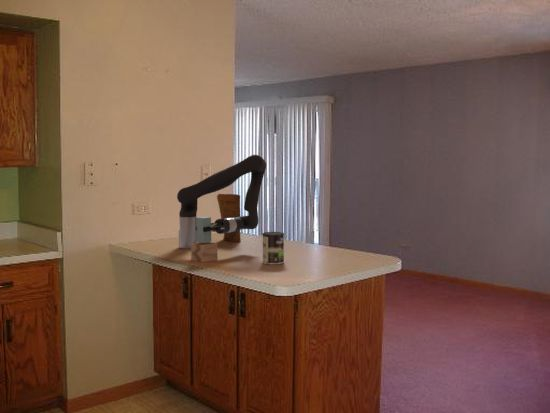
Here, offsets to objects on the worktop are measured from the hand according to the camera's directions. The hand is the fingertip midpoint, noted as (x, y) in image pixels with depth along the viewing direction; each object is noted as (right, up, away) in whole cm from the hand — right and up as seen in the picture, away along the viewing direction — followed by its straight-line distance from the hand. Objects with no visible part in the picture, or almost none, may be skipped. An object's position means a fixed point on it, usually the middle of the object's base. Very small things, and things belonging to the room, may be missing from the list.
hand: (199, 229), depth 274 cm
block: (+2, -15, +3) cm, 16 cm away
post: (+2, -6, +3) cm, 7 cm away
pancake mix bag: (+10, -10, +63) cm, 65 cm away
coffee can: (+35, -16, -4) cm, 39 cm away
